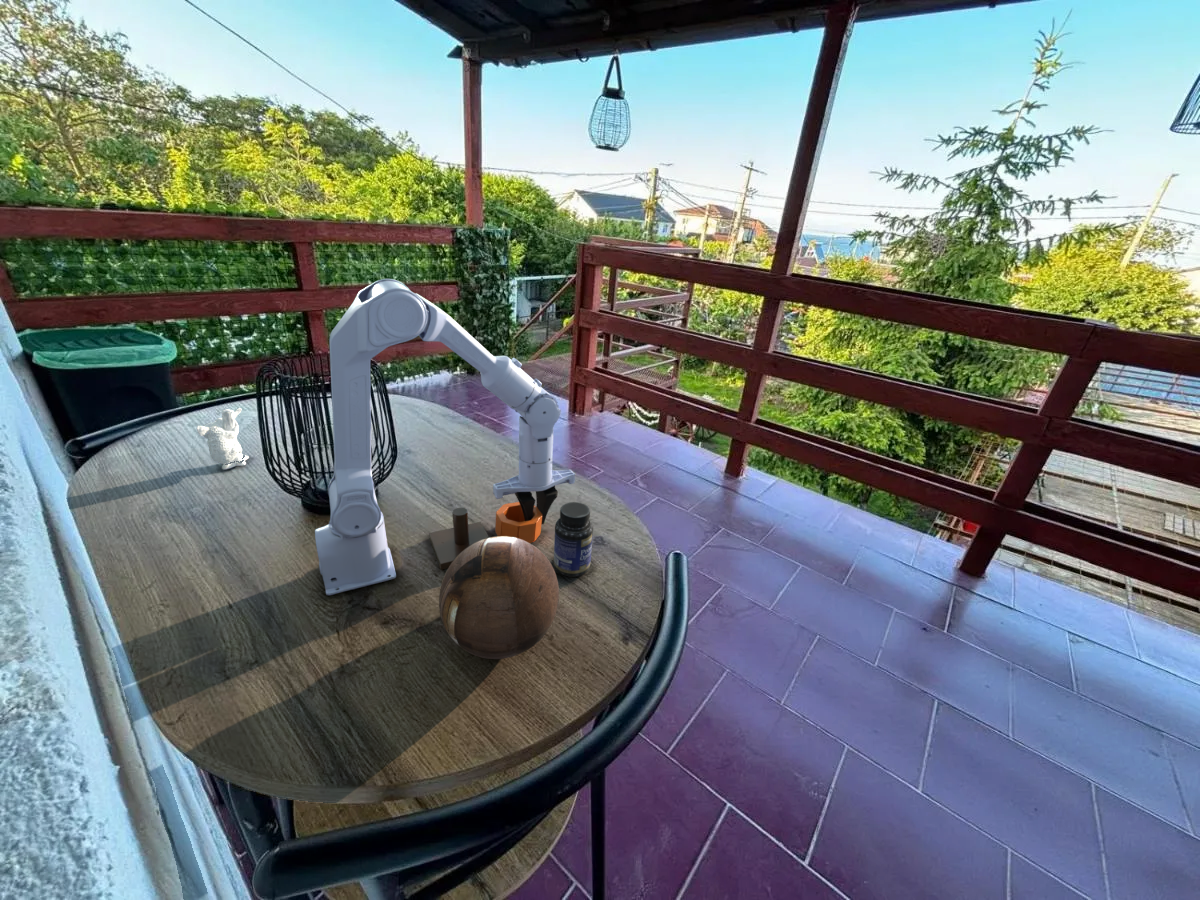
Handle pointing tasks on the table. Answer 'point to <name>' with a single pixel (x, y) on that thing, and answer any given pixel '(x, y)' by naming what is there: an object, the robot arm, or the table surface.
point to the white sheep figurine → (224, 439)
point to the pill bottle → (573, 540)
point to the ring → (518, 523)
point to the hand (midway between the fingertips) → (534, 522)
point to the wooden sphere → (499, 597)
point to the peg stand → (456, 538)
